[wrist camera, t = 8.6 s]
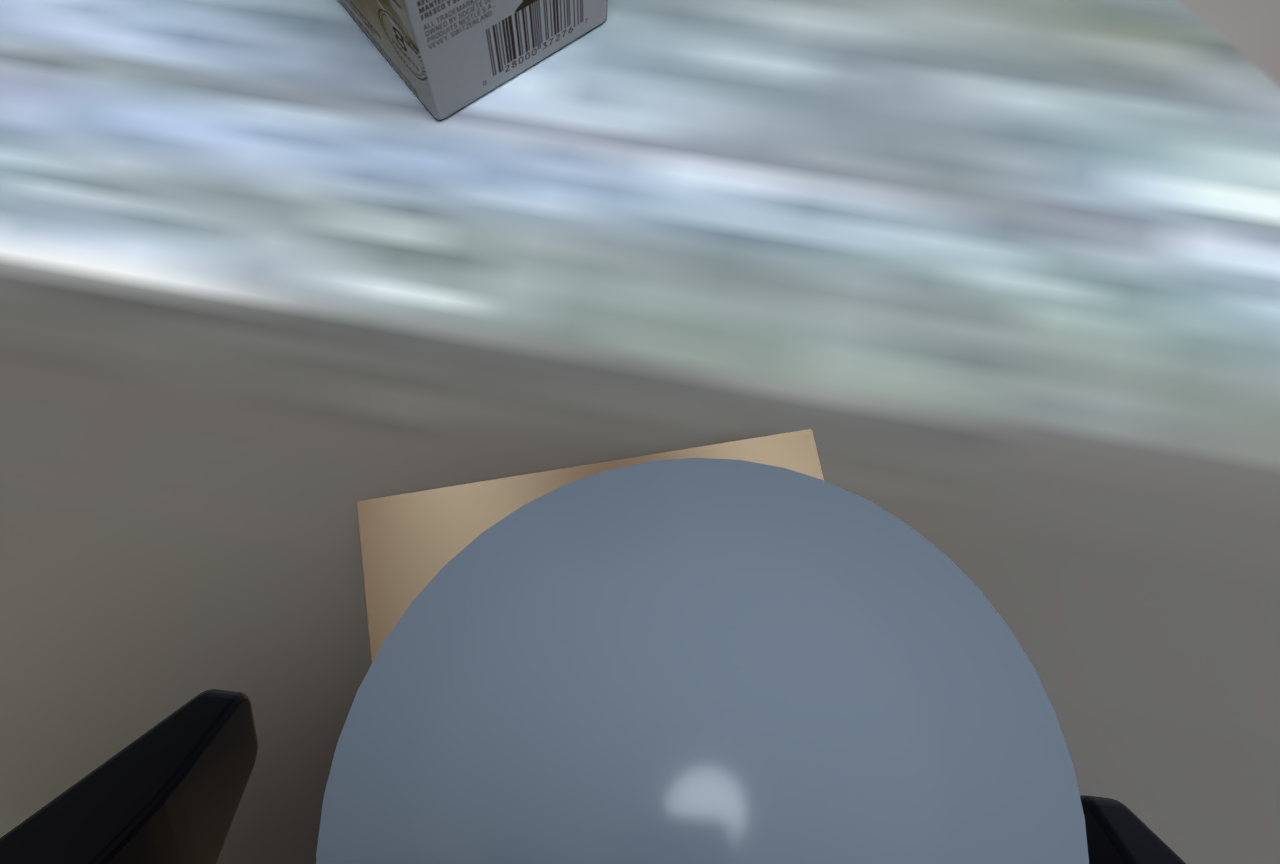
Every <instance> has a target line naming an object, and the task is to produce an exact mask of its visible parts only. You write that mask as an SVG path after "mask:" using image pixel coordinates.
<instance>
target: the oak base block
mask: <svg viewBox="0 0 1280 864" xmlns="http://www.w3.org/2000/svg"><path fill="white" fill-rule="evenodd" d="M684 458H713V459H732V460H744V461H749V462H755V463H760V464H766V465H771V466H777V467H782V468H786V469H789V470H793V471H796V472H799V473H802V474H805V475H809V476H812V477H815V478H818V479H821V480H824V479H823V474H822V470H821V466H820V462H819V458H818V453H817V449H816V445H815V441H814V436H813V432H812V429H808V430H802V431H795V432H789V433H783V434H777V435H770V436H764V437H758V438H751V439H745V440H739V441H733V442H726V443H720V444H714V445H707V446H701V447H695V448H689V449H682V450H676V451H670V452H664V453H657V454H651V455H645V456H638V457H632V458H626V459H620V460H613V461H607V462H601V463H595V464H588V465H582V466H576V467H569V468H563V469H557V470H551V471H544V472H538V473H532V474H526V475H519V476H513V477H507V478H500V479H494V480H488V481H482V482H475V483H469V484H463V485H456V486H450V487H444V488H438V489H431V490H425V491H419V492H413V493H406V494H400V495H394V496H387V497H381V498H375V499H369V500H362V501H357V507H358V518H359V529H360V540H361V551H362V562H363V573H364V584H365V595H366V606H367V617H368V628H369V639H370V650H371V661H372V663H373V661H374V659H375V657H376V655H377V653H378V651H379V649H380V648H381V646H382V644H383V643H384V641H385V640H386V638H387V637H388V635H389V634H390V633H391V631H392V630H393V628H394V627H395V625H396V624H397V623H398V621H399V620H400V618H401V617H402V615H403V614H404V612H405V611H406V610H407V608H408V607H409V605H410V604H411V602H412V601H413V600H414V599H415V598H416V597H417V596H418V595H419V593H420V592H421V591H422V590H423V589H424V588H425V587H426V586H427V585H428V583H429V582H430V581H431V580H432V579H433V578H434V577H435V576H436V575H437V573H438V572H439V571H440V570H441V569H442V568H443V567H444V566H445V565H446V564H447V563H448V562H449V561H450V560H451V559H453V558H454V557H455V556H456V555H457V554H458V553H459V552H461V551H462V550H463V549H464V548H465V547H466V546H468V545H469V544H470V543H471V542H472V541H473V540H474V539H476V538H477V537H478V536H479V535H480V534H481V533H483V532H484V531H486V530H487V529H489V528H490V527H492V526H493V525H495V524H496V523H498V522H499V521H501V520H502V519H503V518H505V517H506V516H508V515H509V514H511V513H512V512H514V511H515V510H517V509H518V508H520V507H521V506H523V505H525V504H527V503H529V502H531V501H533V500H535V499H537V498H539V497H541V496H543V495H545V494H547V493H549V492H551V491H553V490H555V489H557V488H559V487H561V486H563V485H566V484H569V483H572V482H575V481H578V480H581V479H583V478H586V477H589V476H592V475H595V474H598V473H601V472H603V471H606V470H611V469H616V468H620V467H625V466H630V465H635V464H639V463H644V462H649V461H659V460H671V459H684Z"/></svg>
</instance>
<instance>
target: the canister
mask: <svg viewBox="0 0 1280 864" xmlns="http://www.w3.org/2000/svg"><path fill="white" fill-rule="evenodd" d="M316 864H1089V856H1088V846H1087V836H1086V826H1085V817H1084V812H1083V808H1082V803H1081V799H1080V794H1079V789H1078V785H1077V780H1076V775H1075V771H1074V766H1073V763H1072V760H1071V757H1070V754H1069V751H1068V748H1067V745H1066V742H1065V739H1064V736H1063V733H1062V730H1061V727H1060V724H1059V721H1058V718H1057V716H1056V713H1055V711H1054V709H1053V707H1052V705H1051V703H1050V701H1049V698H1048V696H1047V694H1046V692H1045V690H1044V688H1043V686H1042V683H1041V681H1040V679H1039V677H1038V675H1037V673H1036V671H1035V669H1034V667H1033V665H1032V664H1031V662H1030V660H1029V659H1028V657H1027V656H1026V654H1025V652H1024V651H1023V649H1022V647H1021V646H1020V644H1019V643H1018V641H1017V639H1016V638H1015V636H1014V634H1013V633H1012V631H1011V630H1010V628H1009V626H1008V625H1007V624H1006V622H1005V621H1004V620H1003V619H1002V617H1001V616H1000V615H999V614H998V612H997V611H996V610H995V608H994V607H993V606H992V605H991V603H990V602H989V601H988V600H987V598H986V597H985V596H984V594H983V593H982V592H981V591H980V589H979V588H978V587H977V586H976V585H975V584H974V583H973V582H972V581H971V580H970V579H969V578H968V577H967V576H966V575H965V574H964V573H963V572H962V571H961V570H960V569H959V568H958V567H957V566H956V565H955V564H954V563H953V562H952V561H951V560H950V559H949V558H948V557H947V556H946V555H945V554H944V553H943V552H942V551H940V550H939V549H938V548H937V547H935V546H934V545H933V544H932V543H930V542H929V541H928V540H927V539H925V538H924V537H923V536H922V535H920V534H919V533H918V532H917V531H915V530H914V529H913V528H912V527H910V526H909V525H908V524H906V523H905V522H903V521H901V520H900V519H898V518H896V517H895V516H893V515H892V514H890V513H888V512H887V511H885V510H883V509H882V508H880V507H879V506H877V505H875V504H874V503H872V502H870V501H869V500H867V499H865V498H862V497H860V496H858V495H856V494H854V493H851V492H849V491H847V490H845V489H843V488H841V487H838V486H836V485H834V484H832V483H830V482H827V481H824V480H821V479H818V478H815V477H812V476H809V475H805V474H802V473H799V472H796V471H793V470H789V469H786V468H782V467H777V466H771V465H766V464H760V463H755V462H749V461H744V460H732V459H713V458H684V459H671V460H659V461H649V462H644V463H639V464H635V465H630V466H625V467H620V468H616V469H611V470H606V471H603V472H601V473H598V474H595V475H592V476H589V477H586V478H583V479H581V480H578V481H575V482H572V483H569V484H566V485H563V486H561V487H559V488H557V489H555V490H553V491H551V492H549V493H547V494H545V495H543V496H541V497H539V498H537V499H535V500H533V501H531V502H529V503H527V504H525V505H523V506H521V507H520V508H518V509H517V510H515V511H514V512H512V513H511V514H509V515H508V516H506V517H505V518H503V519H502V520H501V521H499V522H498V523H496V524H495V525H493V526H492V527H490V528H489V529H487V530H486V531H484V532H483V533H481V534H480V535H479V536H478V537H477V538H476V539H474V540H473V541H472V542H471V543H470V544H469V545H468V546H466V547H465V548H464V549H463V550H462V551H461V552H459V553H458V554H457V555H456V556H455V557H454V558H453V559H451V560H450V561H449V562H448V563H447V564H446V565H445V566H444V567H443V568H442V569H441V570H440V571H439V572H438V573H437V575H436V576H435V577H434V578H433V579H432V580H431V581H430V582H429V583H428V585H427V586H426V587H425V588H424V589H423V590H422V591H421V592H420V593H419V595H418V596H417V597H416V598H415V599H414V600H413V601H412V602H411V604H410V605H409V607H408V608H407V610H406V611H405V612H404V614H403V615H402V617H401V618H400V620H399V621H398V623H397V624H396V625H395V627H394V628H393V630H392V631H391V633H390V634H389V635H388V637H387V638H386V640H385V641H384V643H383V644H382V646H381V648H380V649H379V651H378V653H377V655H376V657H375V659H374V661H373V663H372V664H371V666H370V668H369V670H368V672H367V674H366V676H365V678H364V680H363V681H362V683H361V685H360V687H359V689H358V691H357V693H356V696H355V698H354V701H353V703H352V706H351V709H350V711H349V714H348V716H347V719H346V722H345V724H344V727H343V729H342V732H341V735H340V737H339V740H338V742H337V746H336V750H335V754H334V758H333V762H332V766H331V770H330V774H329V778H328V781H327V785H326V789H325V793H324V798H323V805H322V813H321V821H320V828H319V836H318V844H317V851H316Z"/></svg>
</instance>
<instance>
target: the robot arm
mask: <svg viewBox="0 0 1280 864" xmlns="http://www.w3.org/2000/svg"><path fill="white" fill-rule="evenodd" d="M257 746H258V745H257V737H256V731H255V725H254V719H253V713H252V708H251V703H250V699H249V698H248V696H247V695H246V694H244V693H241V692H233V691H224V690H216V689H214V690H207V691H205V692H202V693H201V694H199V695H197V696H196V697H195V698H193V699H192V700H190V701H189V702H188V703H186V704H185V705H184V706H182V707H181V708H179V709H178V710H177V711H175V712H174V713H173V714H171V715H170V716H168V717H167V718H166V719H164V720H163V721H162V722H160V723H159V724H157V725H156V726H155V727H153V728H152V729H150V730H149V731H148V732H146V733H145V734H144V735H142V736H141V737H139V738H138V739H137V740H135V741H134V742H133V743H131V744H130V745H128V746H127V747H126V748H124V749H123V750H121V751H120V752H119V753H117V754H116V755H115V756H113V757H112V758H110V759H109V760H108V761H106V762H105V763H104V764H102V765H101V766H99V767H98V768H97V769H95V770H94V771H93V772H91V773H90V774H88V775H87V776H86V777H84V778H83V779H81V780H80V781H79V782H77V783H76V784H75V785H73V786H72V787H70V788H69V789H68V790H66V791H65V792H64V793H62V794H61V795H59V796H58V797H57V798H55V799H54V800H53V801H51V802H50V803H48V804H47V805H46V806H44V807H43V808H41V809H40V810H39V811H37V812H36V813H35V814H33V815H32V816H30V817H29V818H28V819H26V820H25V821H24V822H22V823H21V824H19V825H18V826H17V827H15V828H14V829H13V830H11V831H10V832H8V833H7V834H6V835H4V836H3V837H1V838H0V864H216V862H217V859H218V857H219V854H220V852H221V849H222V846H223V844H224V841H225V839H226V836H227V834H228V831H229V828H230V826H231V823H232V821H233V818H234V816H235V813H236V810H237V808H238V805H239V803H240V800H241V798H242V795H243V792H244V790H245V787H246V785H247V782H248V780H249V777H250V774H251V772H252V769H253V767H254V764H255V760H256V755H257ZM1080 799H1081V803H1082V808H1083V812H1084V817H1085V826H1086V836H1087V846H1088V856H1089V864H1186V863H1185V862H1184V861H1183V860H1182V859H1181V858H1180V857H1179V856H1177V855H1176V854H1175V853H1174V852H1173V851H1172V850H1171V849H1170V848H1169V847H1168V846H1167V845H1166V844H1165V843H1164V842H1163V841H1162V840H1161V839H1160V838H1159V837H1158V836H1157V835H1156V834H1155V833H1153V832H1152V831H1151V830H1150V829H1149V828H1148V827H1147V826H1146V825H1145V824H1144V823H1143V822H1142V821H1141V820H1140V819H1139V818H1138V817H1137V816H1136V815H1135V814H1134V813H1133V812H1132V811H1130V810H1129V809H1128V808H1127V807H1126V806H1125V805H1123V804H1122V803H1120V802H1119V801H1117V800H1114V799H1110V798H1102V797H1094V796H1080Z"/></svg>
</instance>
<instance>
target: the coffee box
mask: <svg viewBox="0 0 1280 864" xmlns="http://www.w3.org/2000/svg"><path fill="white" fill-rule="evenodd" d="M339 1H340V2H341V4H342V5H343V6H344V7H345V9H346V10H347V11H348V12H349V13H350V15H351V16H352V17H353V18H354V20H355V21H356V22H357V23H358V25H359V26H360V27H361V28H362V30H363V31H364V32H365V33H366V34H367V36H368V37H369V38H370V39H371V41H372V42H373V43H374V44H375V46H376V47H377V48H378V49H379V50H380V52H381V53H382V54H383V55H384V57H385V58H386V59H387V60H388V61H389V63H390V64H391V65H392V66H393V68H394V69H395V70H396V71H397V72H398V74H399V75H400V76H401V77H402V79H403V80H404V81H405V82H406V83H407V85H408V86H409V87H410V88H411V90H412V91H413V92H414V93H415V94H416V96H417V97H418V98H419V99H420V101H421V102H422V103H423V104H424V105H425V107H426V108H427V109H428V110H429V111H430V112H431V114H432V115H433V116H434V117H435V118H436V119H438V120H441V119H445V118H446V117H448V116H450V115H451V114H453V113H455V112H456V111H458V110H460V109H461V108H463V107H464V106H466V105H468V104H469V103H471V102H473V101H474V100H476V99H478V98H479V97H481V96H483V95H484V94H486V93H488V92H489V91H491V90H493V89H494V88H496V87H498V86H499V85H501V84H503V83H504V82H506V81H508V80H509V79H511V78H513V77H514V76H516V75H518V74H519V73H521V72H523V71H524V70H526V69H527V68H529V67H531V66H532V65H534V64H536V63H537V62H539V61H541V60H542V59H544V58H546V57H547V56H549V55H551V54H552V53H554V52H555V51H557V50H558V49H560V48H562V47H563V46H565V45H567V44H569V43H570V42H572V41H574V40H575V39H577V38H579V37H580V36H582V35H583V34H585V33H587V32H588V31H590V30H591V29H593V28H595V27H596V26H598V25H600V24H601V23H603V22H604V21H605V20H606V18H607V0H339Z"/></svg>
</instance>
